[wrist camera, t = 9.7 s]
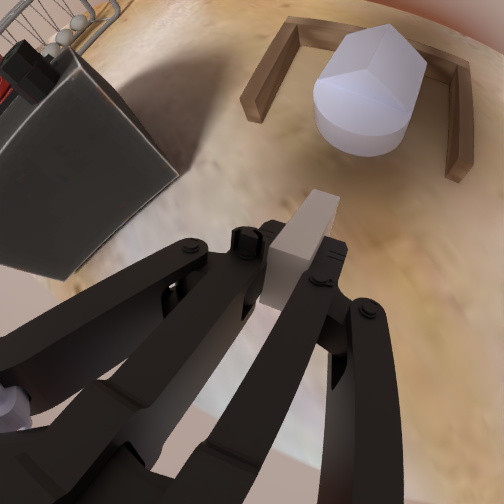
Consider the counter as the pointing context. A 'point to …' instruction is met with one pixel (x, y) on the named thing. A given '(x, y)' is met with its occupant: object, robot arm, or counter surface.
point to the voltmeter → (68, 162)
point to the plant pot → (4, 88)
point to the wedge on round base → (368, 91)
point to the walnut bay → (329, 38)
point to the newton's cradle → (65, 35)
